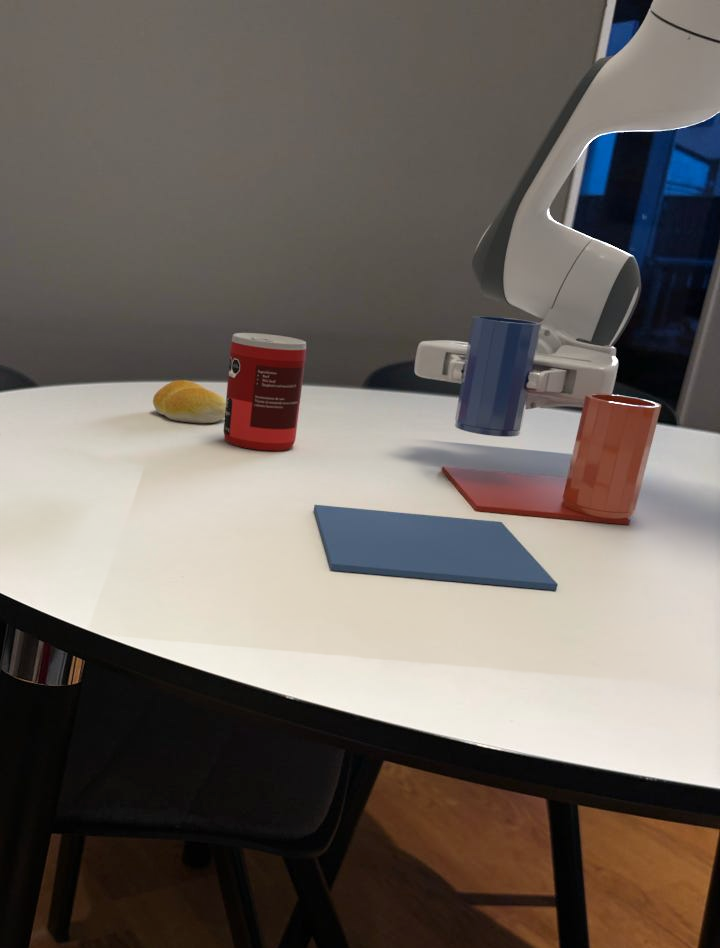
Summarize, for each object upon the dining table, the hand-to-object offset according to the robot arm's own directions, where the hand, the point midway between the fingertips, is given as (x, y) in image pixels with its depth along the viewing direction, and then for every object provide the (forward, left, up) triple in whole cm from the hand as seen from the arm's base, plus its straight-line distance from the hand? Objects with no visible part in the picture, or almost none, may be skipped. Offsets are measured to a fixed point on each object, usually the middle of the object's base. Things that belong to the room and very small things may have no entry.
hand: (494, 376), depth 98 cm
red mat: (-4, +4, -10) cm, 12 cm away
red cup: (-9, +9, -10) cm, 16 cm away
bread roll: (+30, -21, -11) cm, 38 cm away
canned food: (+22, -9, -11) cm, 26 cm away
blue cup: (0, -1, -5) cm, 5 cm away
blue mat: (+10, +25, -10) cm, 29 cm away
